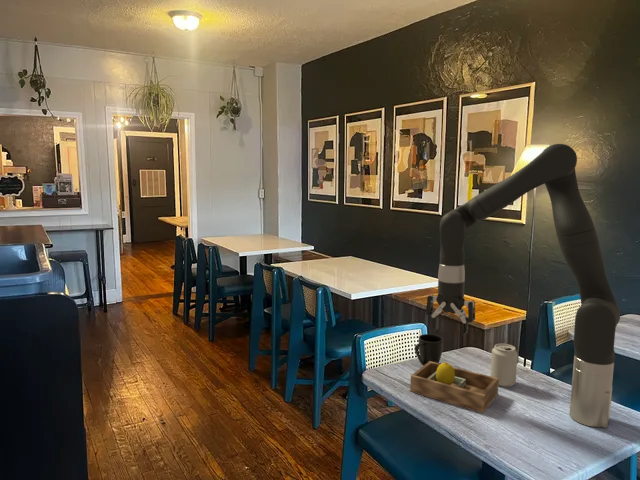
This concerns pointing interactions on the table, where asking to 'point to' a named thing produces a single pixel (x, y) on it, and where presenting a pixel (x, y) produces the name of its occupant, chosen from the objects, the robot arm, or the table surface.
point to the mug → (429, 348)
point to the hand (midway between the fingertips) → (449, 331)
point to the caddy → (456, 387)
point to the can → (504, 364)
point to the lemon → (445, 373)
